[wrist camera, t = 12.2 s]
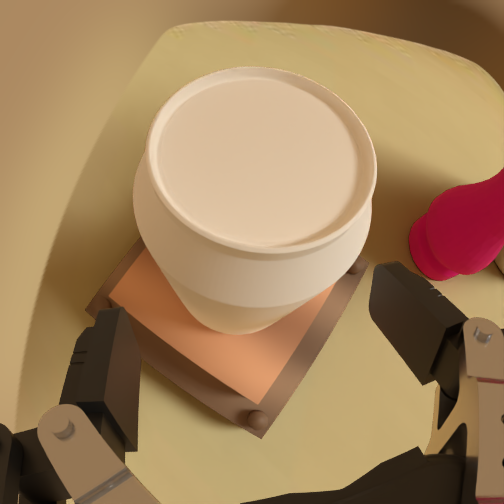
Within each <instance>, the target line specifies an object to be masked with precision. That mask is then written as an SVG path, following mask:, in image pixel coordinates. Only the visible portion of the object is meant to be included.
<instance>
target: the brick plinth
mask: <svg viewBox="0 0 504 504" xmlns="http://www.w3.org/2000/svg"><path fill="white" fill-rule="evenodd" d="M368 265H369V262H367V261H366V260H364V259H363V258H362V257H361V256H358V257H357V259H356V260H355V262H354V263H353V264H352V266H351V267H350V268H349V269H348V271H347V272H346V273H345V274H344V275H343V276H342V277H341V278H340V279H338V280H337V281H336V282H335V283H334V284H332V285H331V286H330V287H328V288H327V289H325V290H324V291H322V292H321V293H320V294H318V295H317V296H315V297H314V298H312V299H311V300H309V301H308V302H306V303H305V304H303V305H302V306H300V307H298V308H297V309H295V310H294V311H292V312H291V313H289V314H288V315H286V316H285V317H283V318H281V319H280V320H278V321H277V322H275V323H273V324H272V325H270V326H268V327H266V328H264V329H262V330H260V331H257V332H254V333H249V334H243V335H232V334H225V333H221V332H217V331H215V330H212V329H210V328H208V327H207V326H205V325H203V324H202V323H201V322H199V321H198V320H197V319H196V318H195V317H194V316H193V315H192V314H191V313H190V312H189V311H188V309H187V308H186V307H185V305H184V304H183V303H182V301H181V300H180V298H179V297H178V295H177V294H176V292H175V291H174V289H173V288H172V286H171V285H170V283H169V282H168V280H167V279H166V277H165V276H164V274H163V272H162V271H161V269H160V268H159V266H158V265H157V263H156V262H155V260H154V258H153V257H152V255H151V254H150V252H149V250H148V248H147V247H146V245H145V243H144V241H143V239H142V237H140V238H139V239H138V241H137V242H136V243H135V244H134V246H133V247H132V248H131V249H130V251H129V252H128V253H127V254H126V256H125V257H124V258H123V259H122V261H121V262H120V263H119V265H118V266H117V267H116V268H115V270H114V271H113V272H112V274H111V275H110V276H109V278H108V279H107V280H106V282H105V283H104V284H103V286H102V287H101V288H100V290H99V291H98V292H97V294H96V295H95V297H94V298H93V299H92V301H91V302H90V303H89V305H88V306H87V308H86V309H85V311H86V312H88V313H89V314H90V315H91V316H92V317H93V318H94V319H95V320H96V318H97V315H98V312H99V310H100V309H107V308H115V307H124V308H125V310H126V312H127V315H128V318H129V321H130V324H131V327H132V329H133V332H134V335H135V338H136V340H137V343H138V346H139V350H140V356H141V358H142V359H143V360H144V361H145V362H147V363H148V364H149V365H151V366H152V367H153V368H155V369H156V370H157V371H158V372H160V373H161V374H162V375H164V376H165V377H167V378H168V379H169V380H171V381H172V382H173V383H175V384H176V385H178V386H179V387H180V388H182V389H183V390H185V391H186V392H187V393H189V394H190V395H192V396H193V397H195V398H196V399H198V400H199V401H201V402H202V403H204V404H205V405H207V406H208V407H210V408H211V409H213V410H214V411H216V412H217V413H219V414H220V415H222V416H224V417H225V418H227V419H228V420H230V421H232V422H233V423H235V424H237V425H238V426H240V427H241V428H243V429H245V430H247V431H248V432H250V433H252V434H253V435H255V436H257V437H259V438H260V439H262V437H263V436H264V435H265V433H266V432H267V430H268V429H269V428H270V426H271V425H272V423H273V422H274V421H275V419H276V418H277V416H278V415H279V413H280V412H281V411H282V409H283V408H284V406H285V405H286V403H287V402H288V400H289V399H290V397H291V396H292V394H293V393H294V391H295V390H296V388H297V387H298V385H299V384H300V382H301V381H302V379H303V378H304V376H305V375H306V373H307V371H308V370H309V368H310V367H311V365H312V363H313V362H314V360H315V359H316V357H317V355H318V354H319V352H320V351H321V349H322V347H323V346H324V344H325V342H326V341H327V339H328V337H329V336H330V334H331V332H332V330H333V329H334V327H335V325H336V324H337V322H338V320H339V318H340V317H341V315H342V313H343V311H344V310H345V308H346V306H347V304H348V302H349V301H350V299H351V297H352V295H353V293H354V291H355V290H356V288H357V286H358V284H359V282H360V280H361V278H362V276H363V275H364V273H365V271H366V269H367V267H368Z"/></svg>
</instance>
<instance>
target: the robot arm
mask: <svg viewBox="0 0 504 504" xmlns="http://www.w3.org/2000/svg"><path fill="white" fill-rule="evenodd" d="M494 260H495V262H496V264H497V266H498V267H499V269H500V270H501V272H502V273H503V274H504V245H503V247H502V249H501V250H500V252H499V253H498V255H497V256H496V258H495V259H494ZM369 312H370V315H371V318H372V320H373V321H374V323H375V324H376V325H377V326H378V328H379V329H380V330H381V331H382V333H383V334H384V335H385V337H386V338H387V339H388V340H389V342H390V343H391V344H392V346H393V347H394V348H395V350H396V351H397V352H398V353H399V355H400V356H401V357H402V359H403V360H404V361H405V363H406V364H407V365H408V367H409V368H410V369H411V371H412V372H413V373H414V375H415V376H416V377H417V379H418V380H419V381H420V383H421V384H422V385H425V384H427V383H430V382H432V381H434V380H436V381H437V382H438V385H437V387H436V390H435V401H434V413H433V423H432V432H431V438H430V441H429V444H428V446H427V449H426V451H425V454H424V455H423V453H422V452H421V450H420V448H419V447H418V446H417V447H415V448H413V449H411V450H409V451H407V452H405V453H403V454H401V455H398V456H396V457H394V458H392V459H389V460H387V461H385V462H382V463H380V464H379V465H378V466H376V467H375V468H373V469H372V470H371V471H369V472H368V473H366V474H365V475H363V476H362V477H360V478H359V479H357V480H356V481H354V482H353V483H351V484H350V485H348V486H347V487H345V488H343V489H340V490H334V491H323V492H308V493H288V494H284V495H280V496H276V497H271V498H267V499H262V500H257V501H251V502H246V503H240V504H504V329H500V328H499V327H498V326H497V325H496V324H495V323H493V322H492V321H490V320H488V319H485V318H478V317H476V318H471V319H468V318H467V317H466V316H465V315H464V314H463V313H462V312H461V311H460V310H459V309H458V308H457V307H456V306H455V305H454V304H452V303H451V302H450V301H449V300H448V299H447V298H446V297H445V296H442V294H441V293H440V292H439V291H438V290H437V289H434V286H433V285H431V284H430V283H429V282H428V281H427V280H426V279H424V278H422V277H420V276H418V275H416V274H414V273H412V272H410V271H409V270H408V269H407V268H406V267H405V266H404V265H402V264H401V263H400V262H398V261H394V262H389V263H384V264H379V265H377V266H376V267H375V269H374V273H373V280H372V287H371V293H370V299H369ZM140 371H141V356H140V350H139V346H138V343H137V340H136V338H135V335H134V332H133V329H132V327H131V324H130V321H129V318H128V315H127V312H126V310H125V308H124V307H115V308H107V309H100V310H99V312H98V315H97V318H96V321H95V325H94V327H87V328H86V329H85V330H84V331H83V333H82V334H81V335H80V336H79V338H78V339H77V341H76V344H75V348H74V351H73V355H72V358H71V361H70V365H69V368H68V371H67V375H66V379H65V382H64V386H63V390H62V394H61V398H60V402H59V405H58V406H55V407H53V408H51V409H50V410H48V411H47V412H46V413H45V414H44V415H43V416H42V418H41V419H40V421H39V424H38V427H37V428H34V429H30V430H27V431H23V432H19V433H15V434H12V432H11V431H9V429H8V428H7V427H6V426H5V425H3V424H1V423H0V504H18V494H19V504H66V499H70V498H72V499H73V500H74V502H75V504H161V503H160V502H159V501H158V500H157V499H156V498H155V497H154V496H153V495H152V494H151V493H150V492H149V491H148V490H147V489H146V488H145V487H144V485H143V484H142V483H141V482H140V481H139V480H138V479H137V478H136V477H135V476H134V474H133V473H132V472H131V471H130V470H129V469H128V467H127V466H126V465H125V452H136V451H138V407H139V387H140Z"/></svg>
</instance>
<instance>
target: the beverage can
mask: <svg viewBox="0 0 504 504" xmlns="http://www.w3.org/2000/svg"><path fill="white" fill-rule="evenodd" d="M376 179H377V161H376V155H375V150H374V147H373V144H372V141H371V138H370V136H369V134H368V132H367V130H366V128H365V126H364V125H363V123H362V122H361V120H360V119H359V117H358V116H357V115H356V114H355V112H354V111H353V110H352V109H351V108H350V107H349V106H348V105H347V104H346V103H345V102H344V101H343V100H342V99H341V98H340V97H338V96H337V95H336V94H334V93H333V92H332V91H330V90H329V89H327V88H326V87H324V86H322V85H321V84H319V83H317V82H315V81H313V80H311V79H309V78H306V77H304V76H301V75H299V74H296V73H292V72H289V71H285V70H281V69H275V68H269V67H255V66H248V67H235V68H228V69H223V70H219V71H215V72H212V73H209V74H206V75H203V76H201V77H199V78H197V79H195V80H193V81H191V82H189V83H187V84H186V85H184V86H183V87H181V88H180V89H179V90H177V91H176V92H175V93H174V94H172V95H171V96H170V97H169V98H168V99H167V100H166V102H165V103H164V104H163V105H162V106H161V108H160V109H159V110H158V112H157V114H156V115H155V117H154V119H153V121H152V123H151V126H150V128H149V131H148V135H147V139H146V147H145V152H144V154H143V156H142V158H141V160H140V163H139V165H138V168H137V171H136V175H135V180H134V187H133V208H134V214H135V219H136V223H137V226H138V229H139V232H140V234H141V237H142V239H143V241H144V243H145V245H146V247H147V248H148V250H149V252H150V254H151V255H152V257H153V258H154V260H155V262H156V263H157V265H158V266H159V268H160V269H161V271H162V272H163V274H164V276H165V277H166V279H167V280H168V282H169V283H170V285H171V286H172V288H173V289H174V291H175V292H176V294H177V295H178V297H179V298H180V300H181V301H182V303H183V304H184V305H185V307H186V308H187V309H188V311H189V312H190V313H191V314H192V315H193V316H194V317H195V318H196V319H197V320H198V321H199V322H201V323H202V324H203V325H205V326H207V327H208V328H210V329H212V330H215V331H217V332H221V333H225V334H232V335H243V334H249V333H254V332H257V331H260V330H262V329H264V328H266V327H268V326H270V325H272V324H273V323H275V322H277V321H278V320H280V319H281V318H283V317H285V316H286V315H288V314H289V313H291V312H292V311H294V310H295V309H297V308H298V307H300V306H302V305H303V304H305V303H306V302H308V301H309V300H311V299H312V298H314V297H315V296H317V295H318V294H320V293H321V292H322V291H324V290H325V289H327V288H328V287H330V286H331V285H332V284H334V283H335V282H336V281H337V280H338V279H340V278H341V277H342V276H343V275H344V274H345V273H346V272H347V271H348V269H349V268H350V267H351V266H352V264H353V263H354V262H355V260H356V259H357V257H358V256H359V254H360V252H361V250H362V248H363V246H364V244H365V241H366V238H367V235H368V232H369V228H370V223H371V214H372V200H371V198H372V195H373V193H374V189H375V185H376Z"/></svg>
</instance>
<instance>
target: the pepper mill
mask: <svg viewBox="0 0 504 504" xmlns="http://www.w3.org/2000/svg"><path fill="white" fill-rule="evenodd" d="M503 245H504V168H503V169H502V170H501V171H500V172H499V173H498V174H496V175H495V176H493V177H492V178H490V179H488V180H485V181H483V182H479V183H475V184H468V185H460V186H456V187H454V188H451V189H448V190H446V191H445V192H443V193H442V194H440V195H439V196H438V197H436V198H435V199H434V201H433V202H432V203H431V205H430V207H429V210H428V212H427V213H426V214H425V215H423V216H422V217H421V218H419V219H418V220H417V221H416V222H415V223H414V224H413V226H412V228H411V231H410V234H409V247H410V253H411V255H412V257H413V260H414V262H415V264H416V265H417V267H418V268H419V270H421V271H422V272H423V273H424V274H425V275H426V276H428V277H429V278H431V279H434V280H438V281H443V280H447V279H449V278H452V277H454V276H456V275H458V274H462V275H470V274H474V273H477V272H479V271H480V270H482V269H484V268H486V267H487V266H488V265H489V264H490V263H491V262H492V261H493V260H494V259H495V258H496V256H497V255H498V253H499V252H500V250H501V249H502V247H503Z"/></svg>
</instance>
